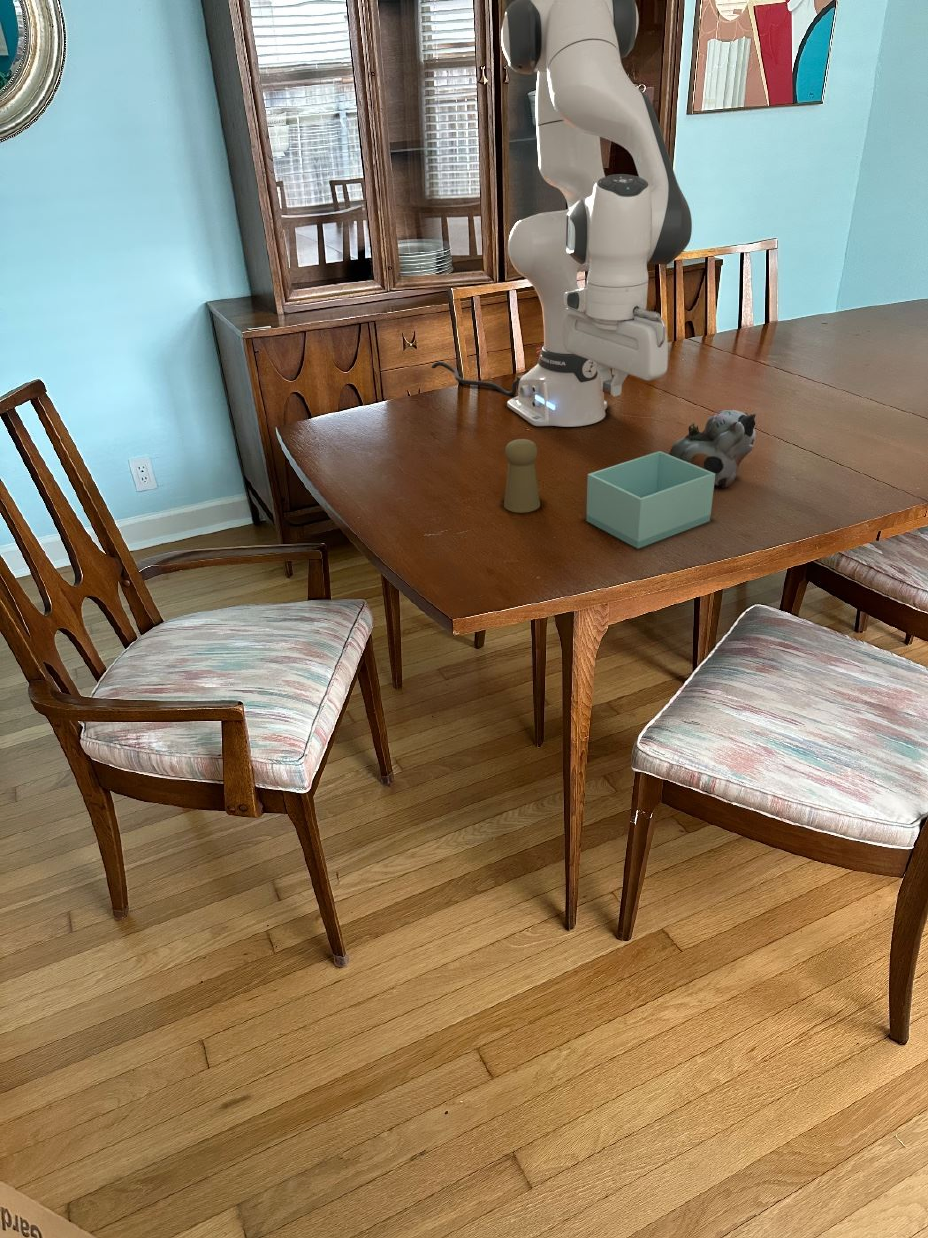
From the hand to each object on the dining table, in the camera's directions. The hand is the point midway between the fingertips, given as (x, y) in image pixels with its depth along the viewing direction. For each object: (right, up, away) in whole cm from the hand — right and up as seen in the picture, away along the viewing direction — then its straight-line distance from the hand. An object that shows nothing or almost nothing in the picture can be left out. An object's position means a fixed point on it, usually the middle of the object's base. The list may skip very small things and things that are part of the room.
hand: (610, 393), depth 132 cm
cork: (-13, -16, +10) cm, 23 cm away
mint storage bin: (+3, -14, +4) cm, 15 cm away
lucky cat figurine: (+19, -10, +16) cm, 27 cm away
